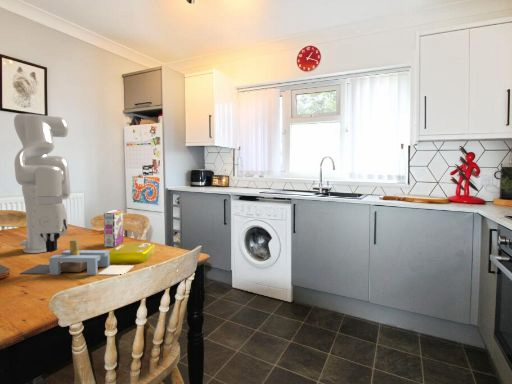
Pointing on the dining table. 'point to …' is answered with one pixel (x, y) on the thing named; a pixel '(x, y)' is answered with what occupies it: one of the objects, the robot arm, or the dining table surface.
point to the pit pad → (38, 270)
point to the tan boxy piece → (73, 265)
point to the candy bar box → (113, 228)
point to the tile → (116, 270)
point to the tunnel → (81, 260)
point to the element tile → (131, 253)
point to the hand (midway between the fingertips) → (51, 251)
